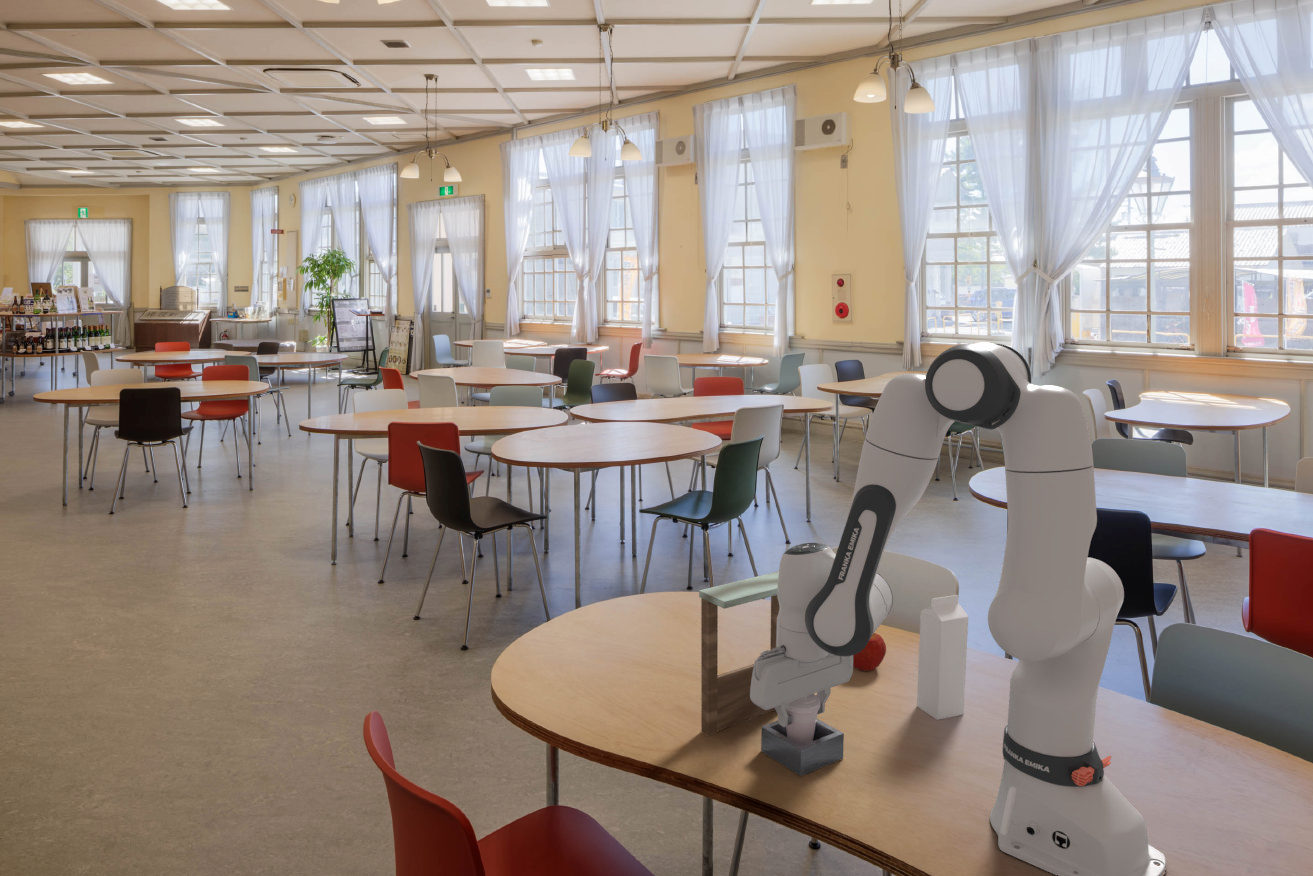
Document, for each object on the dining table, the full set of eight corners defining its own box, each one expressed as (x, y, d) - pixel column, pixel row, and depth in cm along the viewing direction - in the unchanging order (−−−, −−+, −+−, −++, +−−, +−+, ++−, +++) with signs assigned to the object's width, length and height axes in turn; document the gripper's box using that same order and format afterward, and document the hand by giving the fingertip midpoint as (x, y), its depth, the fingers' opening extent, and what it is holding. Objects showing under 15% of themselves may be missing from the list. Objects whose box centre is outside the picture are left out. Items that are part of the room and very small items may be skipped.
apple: (843, 660, 184) (843, 624, 183) (880, 660, 183) (881, 625, 182) (849, 675, 176) (850, 639, 175) (888, 676, 176) (890, 639, 175)
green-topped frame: (805, 718, 158) (808, 580, 154) (723, 749, 148) (724, 601, 144) (779, 704, 164) (781, 570, 160) (699, 732, 154) (699, 590, 149)
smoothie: (819, 764, 143) (822, 685, 140) (780, 761, 144) (782, 682, 141) (817, 743, 149) (820, 667, 147) (780, 741, 150) (782, 665, 147)
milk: (916, 706, 163) (920, 593, 159) (943, 701, 165) (947, 589, 161) (937, 721, 157) (941, 604, 154) (964, 715, 159) (969, 599, 156)
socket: (843, 758, 144) (843, 733, 144) (800, 776, 139) (801, 750, 138) (802, 735, 152) (803, 711, 152) (761, 751, 147) (761, 726, 146)
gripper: (768, 661, 134) (766, 744, 137) (860, 632, 146) (857, 709, 148) (742, 647, 139) (741, 728, 142) (833, 621, 151) (831, 695, 153)
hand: (801, 718), depth 145 cm, fingers open, 6 cm apart
